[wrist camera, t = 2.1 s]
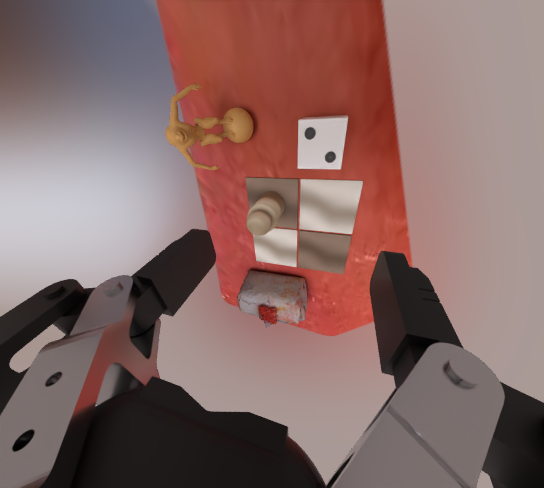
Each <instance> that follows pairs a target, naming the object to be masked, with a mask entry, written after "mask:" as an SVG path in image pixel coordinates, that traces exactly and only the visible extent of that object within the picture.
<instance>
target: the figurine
mask: <svg viewBox="0 0 544 488" xmlns="http://www.w3.org/2000/svg"><path fill="white" fill-rule="evenodd" d="M196 88H201V87H200V85H199V84H191V85H189V86H188V87H187V88H185V89H183V90H182V91H181V92H180V93H178V94H176V95H174V96H173V97H172V99H171V116H170V125H169V126H168V127H167V129H166V132H165V135H166V138H167V140H168V142H169V143H170V144H171V145H173V146H175V147H177V148H178V149H179V151H180V152H181V153H182V154H183V155H184V156H185V157H186V159H187V160H188V161H189V163H190V164H191V165H192V166H194V167H200V168H204V169H209V170H217V169H219V167H216V166H214V167H210V166H208V165H204V164H200V163H195V162H194V160H193V158H192V156H191V154H190V153H189V151H188V148H189V147H190V146H192V145H194V144H195V142H196V141H197V140H200V144H201V145H202V146H205V145H207V144H215V143H218V142H222V140H223V137H228V138H229V139H230V140H231V141H233V142H235V143H243V142H246V141H247V140H248V139H249V138H250V137H251V135H252V133H253V121H252V118H251V116H250V115H249V113H248V112H247V111H245V110H244V109H242V108H232V109H230V110H228V111H227V112H226V114H225V116H224V118H223V119H221V120H219V119H218V118H216V117H205V118H195V119H194V122H195V124H196V126H192V125H189V124H188V123H183V122H180V121H179V119H178V107H177V101H179V100H181V99H182V98H183V97H184V96H186V95H187V94H188V93H189V92H190V91H191V89H194V90H198V89H196ZM218 124H223V129H224V132H225V133H220V134H217V135H215V134H212V133H210V134H207V135H205V133H206V132H205V130H204V129H210V128H212V127H213V126H214V125H218Z"/></svg>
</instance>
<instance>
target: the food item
mask: <svg viewBox="0 0 544 488" xmlns="http://www.w3.org/2000/svg"><path fill="white" fill-rule="evenodd" d="M248 272H249V273H248V275H247V276H246V277H245V280H244V283H243V284H242V286H241V288H240V292H239V294H238V296H237V299H238V305H239V308H240V311H241V312H244V313H248V314H252V315H256V316H259V318H260V319H261V320H265V321H264V323H265V324H266V325H265V326H267V327H269V326H270V325H271V324H276V323H277V322H281V323H295V324H298V322H299V320H300V321H301V320H302V321H303V320H305V312H306V308H307V289H306V282H305V279H304V278H303V277H294V276H285V275H278V274H272V273H267V272H259V271H253V270H249V271H248ZM267 327H266V328H267Z"/></svg>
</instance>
